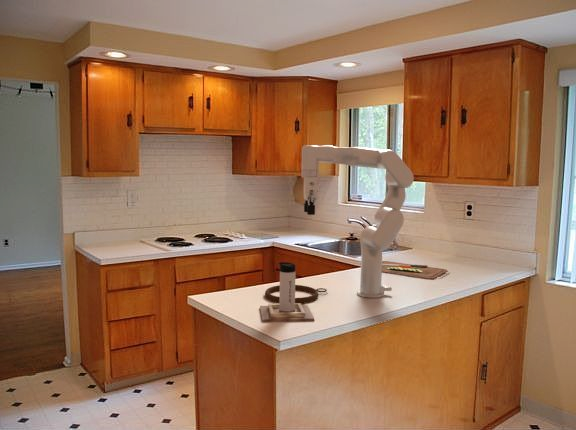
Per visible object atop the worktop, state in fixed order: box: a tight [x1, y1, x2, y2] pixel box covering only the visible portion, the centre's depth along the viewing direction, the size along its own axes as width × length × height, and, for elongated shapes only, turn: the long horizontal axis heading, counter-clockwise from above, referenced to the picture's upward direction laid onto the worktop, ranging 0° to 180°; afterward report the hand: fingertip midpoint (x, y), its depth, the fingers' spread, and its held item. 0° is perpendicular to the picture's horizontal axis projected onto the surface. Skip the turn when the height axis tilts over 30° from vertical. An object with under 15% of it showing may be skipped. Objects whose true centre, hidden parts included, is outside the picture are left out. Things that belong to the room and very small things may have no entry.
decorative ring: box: [264, 284, 328, 305], centre depth 236 cm, size 24×3×30 cm
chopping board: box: [382, 260, 451, 280], centre depth 292 cm, size 45×27×3 cm, turn 55°
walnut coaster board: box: [259, 303, 315, 323], centre depth 208 cm, size 20×18×2 cm
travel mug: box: [278, 261, 296, 313], centre depth 207 cm, size 6×7×20 cm
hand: (309, 213), depth 227 cm, fingers open, 9 cm apart
